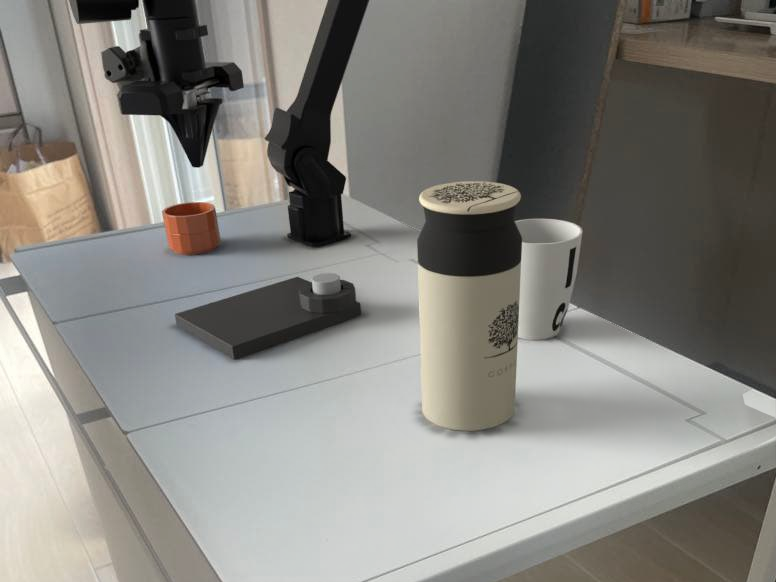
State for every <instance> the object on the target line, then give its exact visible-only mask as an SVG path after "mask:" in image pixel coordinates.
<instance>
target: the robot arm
mask: <svg viewBox="0 0 776 582" xmlns="http://www.w3.org/2000/svg"><path fill="white" fill-rule="evenodd" d="M141 2H142V8H143V14H144V18H145V23H146V24H145V25H146V28H144V29H139V33H138V40H139V46H137V47H136V48H133V49H131V50H127V51H125V50H124V49H123V48H122V47H120V46H119V45H115V46H112V47H111V46H110V47H108V48H106V49H105V50H103V51H100V56H101V63H102V69H103V72H104V73H103V74H104V78H105V79H106V80H107V81H109V82H110V83H112V84H116V85H117V87H118V89H119V90H118V92H117V94H116V97H117V102H118V108H119V111H120V114H121V115H122V116H123V115H124V116H126V115H127V116H160V117H161V118H163V119H164V120H165V121H166V122H167V123H169V125H170V127H171V128H172V130H173V132H174V134H175V135H176V137H177V140H178V142H179V143H180V145H181V148H182V149H183V151H184V153H185V155H186V157H187V159H188V162H189V164H190V166H191V167H192V168H197V169H200V168H201V167H203V166H204V163H205V159H206V156H207V151H208V147H209V143H210V139H211V136H212V133H213V129H214V125H215V121H216V119H217V117H218V116H217V115H218V113H219V109H220V106H221V105H222V104H223V98H219V97H217V98H216V97H213V96H212V92H211V91H209V89H212V88H219V89H221V88H222V89H224V88H225V89H226V88H227V89H228V90H229V91H230V92H235V91H238V90H241V89H244V88H245V84H244V78H243V77H244V76H243V71H242V69H241V68H240V67H239V66H238V65H237V64H236V63H235V62H234V61H232V62H231V61H222V62H221V61H206V58H205V52H204V46H203V40H202V37H207V36H209V31H208V25H207V24H200V21H199V15H198V9H197V2H196V0H141ZM369 3H370V0H327V1H326V4H325V8H324V11H323V14H322V17H321V20H320V23H319V26H318V29H317V32H316V35H315V39H314V43H313V45H312V48H311V51H310V54H309V58H308V61H307V63H306V67H305V70H304V73H303V76H302V79H301V82H300V85H299V89H298V92H297V95H296V97H295V99H294V101H292V103H291V104H290V106H289V107H288V108H287V110H284V109H283V108H280V107H275V109H274V111H273V115H272V121H271V127H270V128H269V131H268V133H267V134H266V135H265V137H264V140H265V141H266V142H268V144H267V149H266V150H267V151H266V154H267V155H266V156H267V158H268V161H269V164H270V165H271V167H272V168H273V169H274V170H275V171H276V172H277V173H278V174H280V175H282V177H283V178H284V181H285V183H286V185H287V186H288V187H291V188H292V189H293V190H291V191H289V192H288V199H289V204H288V205H287V214H288V221H289V230H290V232H288V233H287V234H286V236H287V238H288V239H290V240H293V241H296V242H299V243H300V244H304V245H306V246H308V247H312V248H315V247H319V246H324V245H326V244H330V243H334V242H337V241H340V240H344V239H348V238H351V237H352V232H350V231H348V230H345V226H344V214H343V213H344V212H343V201H342V195H343V194H344V191H345V187H346V182H347V177H346V175H345V174H343V173H342V172H341V171H340V170H339V169H338V168H337V167H335V166H334V165H333V164H332V163H331V162H330V161H329V160H328V159H329V155H330V149H331V145H332V123H331V119H332V112H333V108H334V105H335V103H336V99H337V97H338V93H339V92H340V88H341V86H342V85H341V84H342V82H343V79H344V76H345V74H346V70H347V67H348V64H349V62H350V58H351V56H352V53H353V50H354V47H355V44H356V41H357V38H358V35H359V32H360V30H361V27H362V23H363V20H364V17H365V15H366V11H367V8H368V5H369ZM68 4H69V6H70V10H71V13H72V16H73V19H74V21H75V23H76V24H77V25H85V24H97V23H107V22H109V23H110V22H121V21H131V20H132V11H136V10H137V9H139V6H140V0H68Z"/></svg>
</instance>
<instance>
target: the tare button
mask: <svg viewBox="0 0 776 582" xmlns="http://www.w3.org/2000/svg"><path fill="white" fill-rule="evenodd" d="M340 280H341V276H340V275H339V274H337V273H333V272H332V273H331V272H323V273H318V274H315V275H314V276H312V277H311V282H312V286H313V293H314V294H318V295H329V294H335V293H338V292H341V283H340Z"/></svg>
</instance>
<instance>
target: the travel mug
mask: <svg viewBox="0 0 776 582" xmlns="http://www.w3.org/2000/svg"><path fill="white" fill-rule="evenodd" d="M521 198H522V194H521V192H520V191H519V190H518V189H517V188H515V187H513V186H511V185H509V184H505V183H500V182H494V181H484V180H483V181H480V180H471V181H470V180H469V181H468V180H466V181H453V182H448V183H446V182H445V183H442V184H437V185H434V186H431V187H428V188H427V189H425V190H423V191H422V192H421V193H420V194H419V198H418V200H419V203H420V204H421V206H422V209H423V213H424V219H425V222H424V224H423V226H422V228H421V229H420V233H419V235H418V237H417V240H416V243H417V244H416V245H417V251H416V252H417V280H418V281H417V283H418V284H417V285H418V286H417V287H418V314H419V315H418V316H419V346H420V347H419V351H420V382H421V383H420V384H421V385H420V386H421V388H420V390H421V412H422V414H423V416H424V417H425V418H426V420H428V421H429V422H431V423H433V424H435V425H437V426H439V427H442V428H445V429H448V430H452V431H453V430H454V431H464V432H476V431H481V430H486V429H491V428H494V427H497V426H500V425H501V424H503V423H505V422H507V421H508V420H509V419H511V417H512V416H513V415H514V413H515V409H516V389H517V388H516V387H517V367H518V363H517V362H518V343H519V342H518V341H519V338H518V321H519V299H520V277H521V254H522V236H521V234H520V232H519V230H518V227H517V225H516V223H515V221H516V220H515V215H516V209H517V206H518V203H519V202H520V201H521Z"/></svg>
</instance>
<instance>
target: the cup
mask: <svg viewBox="0 0 776 582" xmlns="http://www.w3.org/2000/svg"><path fill="white" fill-rule="evenodd" d="M514 221H515V223H516V225H517V227H518V230H519V232H520V234H521V236H522V254H521V277H520V299H519V321H518V339H522V340H529V341H541V340H548V339H551V338H553V337H556V336H557V335H558V334H559V332H560V331H561V328H562V325H563V322H564V320H565V318H566V315H567V313H568V310H569V307H570V303H571V299H572V296H573V295H572V294H573V292H574V286H575V283H576V279H577V275H578V274H577V273H578V266H579V260H580V253H581V245H582V240H583V239H582V238H583V228H582V227H581V226H580V225H578V224H576V223H574V222H571V221H567V220H563V219H555V218H525V219H519V220H514Z"/></svg>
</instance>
